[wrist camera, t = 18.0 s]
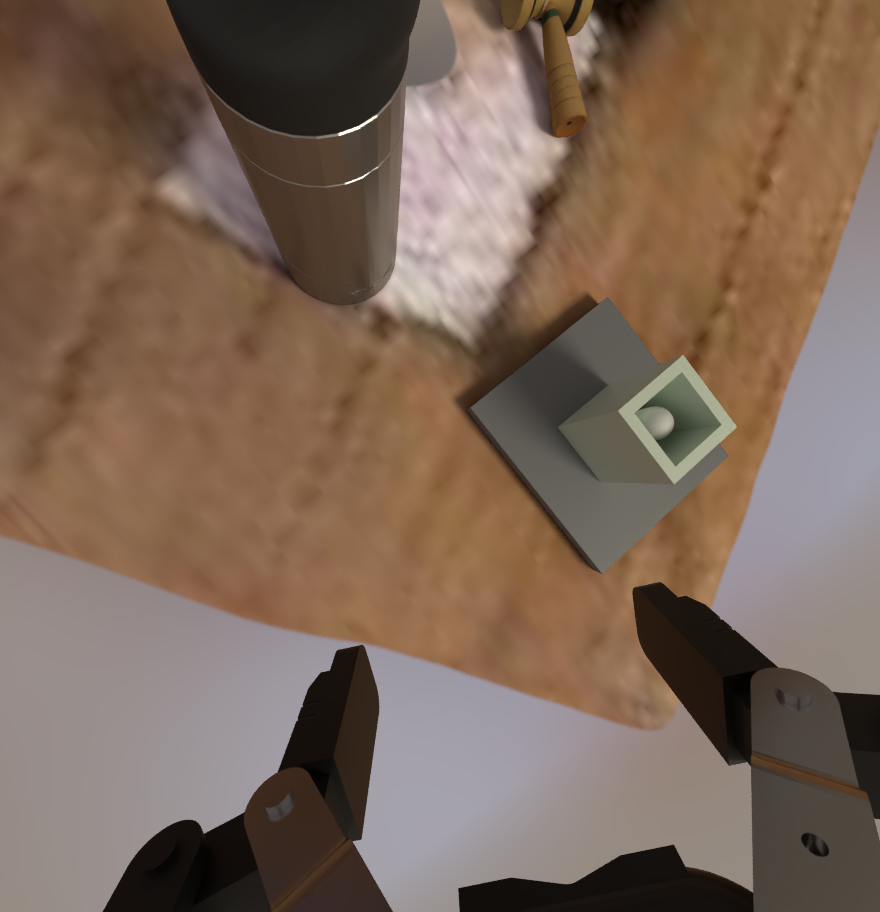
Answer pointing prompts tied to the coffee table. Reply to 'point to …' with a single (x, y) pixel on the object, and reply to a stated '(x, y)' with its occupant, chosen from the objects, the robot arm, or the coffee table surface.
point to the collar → (628, 441)
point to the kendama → (555, 54)
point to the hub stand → (556, 461)
